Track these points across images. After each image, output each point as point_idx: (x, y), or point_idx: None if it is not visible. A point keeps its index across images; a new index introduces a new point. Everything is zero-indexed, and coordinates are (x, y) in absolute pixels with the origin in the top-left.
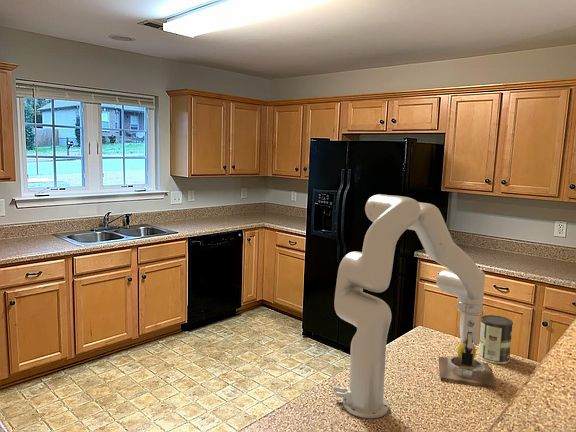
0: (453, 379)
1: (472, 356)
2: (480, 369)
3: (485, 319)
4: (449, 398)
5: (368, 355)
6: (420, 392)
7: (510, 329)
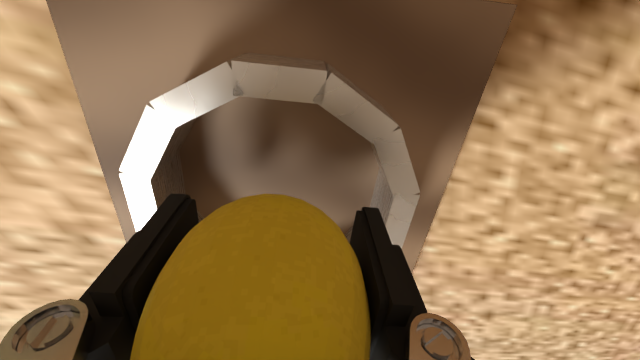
0: (418, 255)
1: (402, 276)
2: (389, 126)
3: None
4: (558, 272)
5: None
6: (495, 340)
7: None
